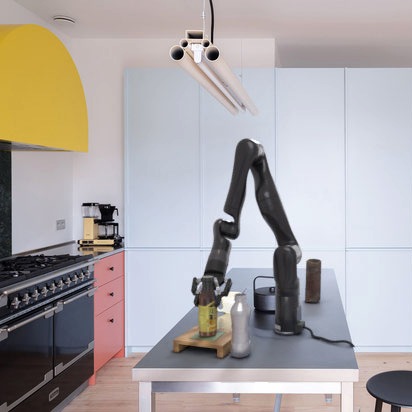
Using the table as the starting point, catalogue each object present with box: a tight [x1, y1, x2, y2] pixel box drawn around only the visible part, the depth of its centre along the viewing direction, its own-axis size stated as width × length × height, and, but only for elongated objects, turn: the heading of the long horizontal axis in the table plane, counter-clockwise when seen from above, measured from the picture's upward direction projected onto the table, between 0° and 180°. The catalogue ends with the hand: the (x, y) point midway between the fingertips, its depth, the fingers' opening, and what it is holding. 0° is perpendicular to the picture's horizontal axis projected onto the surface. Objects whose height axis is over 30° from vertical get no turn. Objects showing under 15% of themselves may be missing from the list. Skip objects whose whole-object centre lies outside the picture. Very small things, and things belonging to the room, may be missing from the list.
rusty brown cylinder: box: [304, 258, 322, 303], centre depth 196 cm, size 8×7×20 cm
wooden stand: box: [172, 325, 232, 359], centre depth 141 cm, size 18×14×4 cm
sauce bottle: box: [197, 275, 218, 337], centre depth 141 cm, size 7×6×20 cm
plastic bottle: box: [229, 292, 252, 358], centre depth 133 cm, size 6×7×20 cm
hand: (206, 305), depth 139 cm, fingers closed on sauce bottle, 6 cm apart
